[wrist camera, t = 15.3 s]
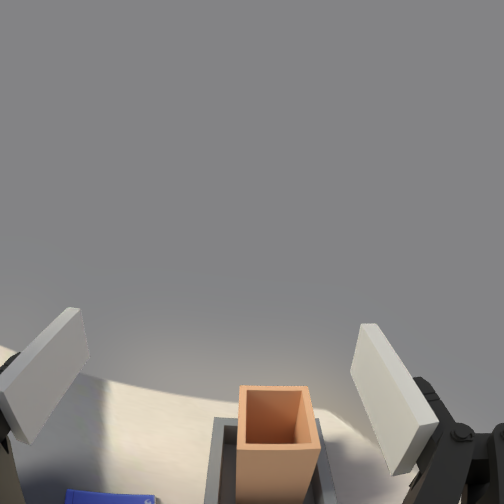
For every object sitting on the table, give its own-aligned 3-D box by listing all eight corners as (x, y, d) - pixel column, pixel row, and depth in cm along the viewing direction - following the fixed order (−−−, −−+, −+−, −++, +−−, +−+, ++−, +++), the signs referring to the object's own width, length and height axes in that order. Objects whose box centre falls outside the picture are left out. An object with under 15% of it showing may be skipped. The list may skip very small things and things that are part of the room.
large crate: (205, 533, 27) (202, 516, 26) (215, 440, 43) (214, 417, 42) (329, 531, 27) (339, 514, 26) (312, 441, 44) (318, 418, 42)
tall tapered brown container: (235, 511, 30) (236, 449, 26) (237, 454, 40) (239, 385, 36) (299, 510, 30) (321, 448, 26) (293, 455, 40) (307, 386, 36)
